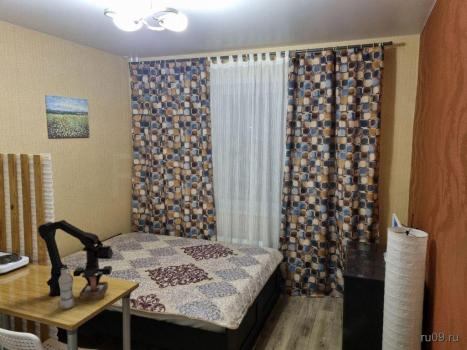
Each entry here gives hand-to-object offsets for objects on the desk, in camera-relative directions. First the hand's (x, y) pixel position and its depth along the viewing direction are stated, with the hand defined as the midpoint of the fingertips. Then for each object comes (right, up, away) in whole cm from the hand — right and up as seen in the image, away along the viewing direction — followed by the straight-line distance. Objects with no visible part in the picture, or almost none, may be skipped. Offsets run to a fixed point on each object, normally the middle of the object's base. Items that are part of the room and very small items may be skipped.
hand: (93, 286), depth 183 cm
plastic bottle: (-8, -6, -14) cm, 17 cm away
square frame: (0, -5, 0) cm, 5 cm away
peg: (0, -3, 0) cm, 3 cm away
